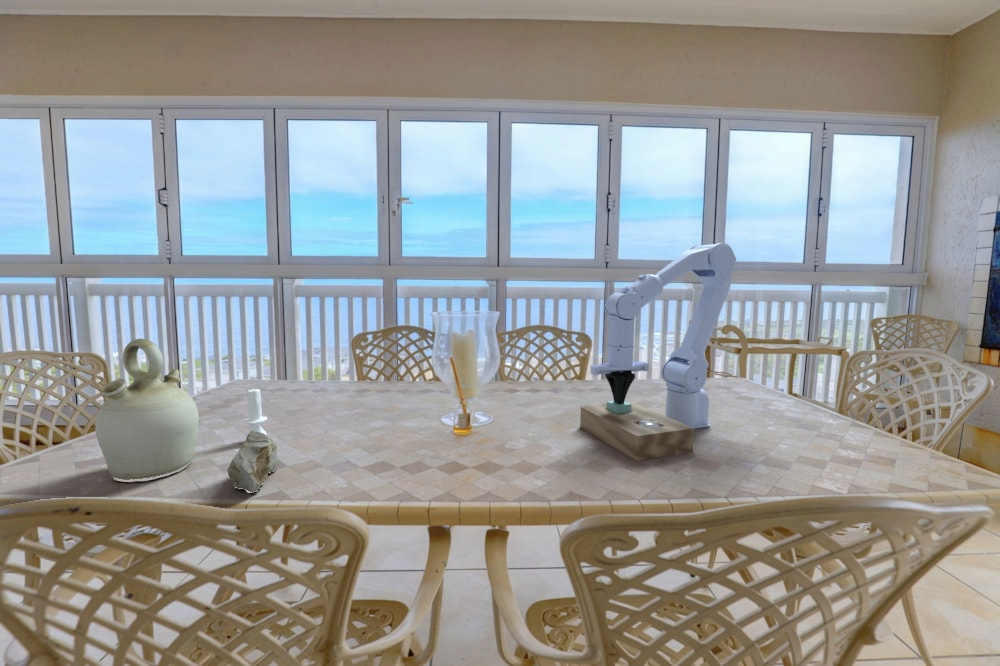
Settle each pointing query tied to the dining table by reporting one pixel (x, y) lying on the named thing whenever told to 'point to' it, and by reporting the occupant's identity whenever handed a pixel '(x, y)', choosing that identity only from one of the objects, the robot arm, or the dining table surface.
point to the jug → (146, 419)
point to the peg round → (648, 424)
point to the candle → (255, 411)
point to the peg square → (618, 407)
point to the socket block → (637, 431)
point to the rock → (253, 462)
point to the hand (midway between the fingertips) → (618, 403)
